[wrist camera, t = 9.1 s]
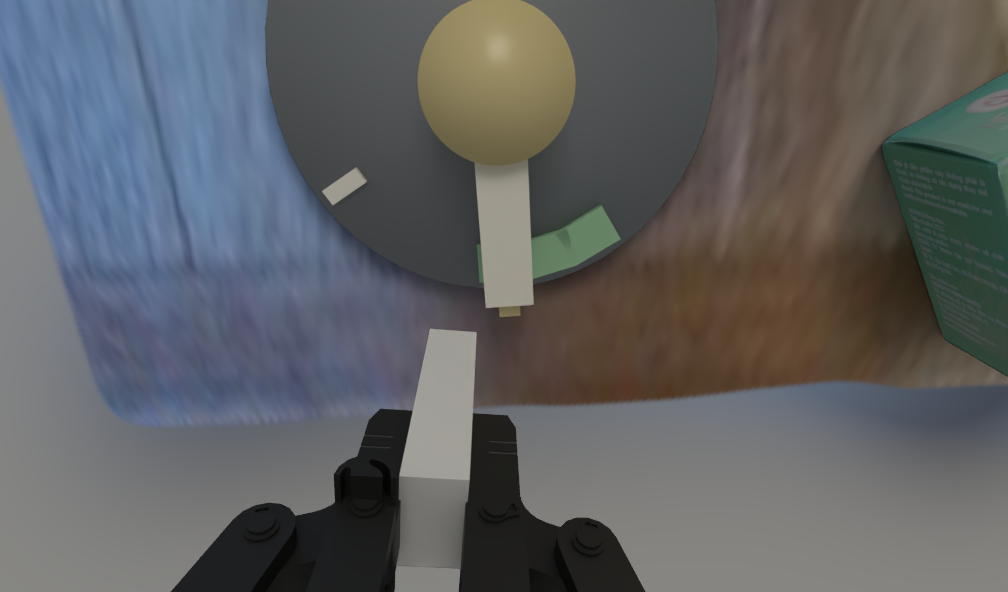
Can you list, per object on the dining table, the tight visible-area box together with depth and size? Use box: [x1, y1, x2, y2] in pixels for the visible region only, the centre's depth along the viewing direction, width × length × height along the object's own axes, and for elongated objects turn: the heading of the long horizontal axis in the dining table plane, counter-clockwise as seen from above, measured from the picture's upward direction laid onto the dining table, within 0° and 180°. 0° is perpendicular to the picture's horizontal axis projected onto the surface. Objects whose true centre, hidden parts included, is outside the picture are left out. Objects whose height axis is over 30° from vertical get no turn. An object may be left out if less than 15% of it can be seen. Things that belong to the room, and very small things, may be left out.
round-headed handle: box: [418, 0, 576, 317], centre depth 24 cm, size 13×6×4 cm, turn 3°
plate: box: [265, 0, 718, 288], centre depth 25 cm, size 20×20×2 cm
